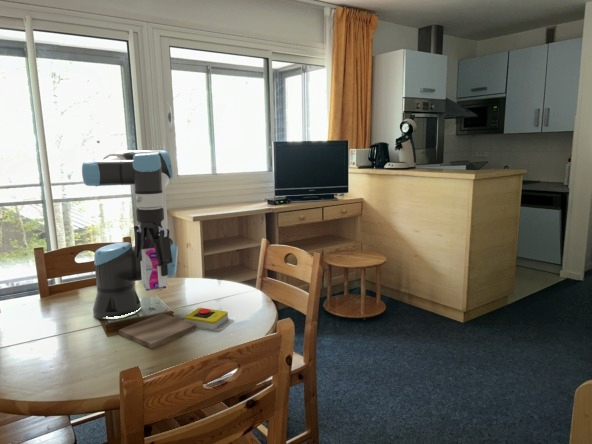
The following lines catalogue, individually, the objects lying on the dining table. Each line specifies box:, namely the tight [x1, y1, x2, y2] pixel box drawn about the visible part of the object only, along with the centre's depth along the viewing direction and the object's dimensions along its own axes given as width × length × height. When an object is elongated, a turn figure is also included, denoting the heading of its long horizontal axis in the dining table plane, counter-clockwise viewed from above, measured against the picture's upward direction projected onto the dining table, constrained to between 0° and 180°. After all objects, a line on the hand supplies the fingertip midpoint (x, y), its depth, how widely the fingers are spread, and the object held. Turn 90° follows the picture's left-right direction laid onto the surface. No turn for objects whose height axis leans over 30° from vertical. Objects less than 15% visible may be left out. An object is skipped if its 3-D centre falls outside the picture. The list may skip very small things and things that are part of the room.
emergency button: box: [183, 307, 235, 332], centre depth 138 cm, size 9×4×15 cm
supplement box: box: [142, 248, 167, 292], centre depth 128 cm, size 6×6×12 cm
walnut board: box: [118, 313, 197, 350], centre depth 131 cm, size 16×16×2 cm
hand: (154, 283), depth 129 cm, fingers closed on supplement box, 7 cm apart
